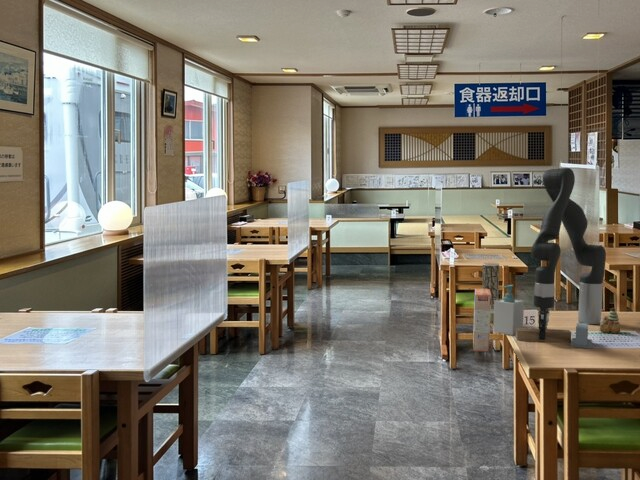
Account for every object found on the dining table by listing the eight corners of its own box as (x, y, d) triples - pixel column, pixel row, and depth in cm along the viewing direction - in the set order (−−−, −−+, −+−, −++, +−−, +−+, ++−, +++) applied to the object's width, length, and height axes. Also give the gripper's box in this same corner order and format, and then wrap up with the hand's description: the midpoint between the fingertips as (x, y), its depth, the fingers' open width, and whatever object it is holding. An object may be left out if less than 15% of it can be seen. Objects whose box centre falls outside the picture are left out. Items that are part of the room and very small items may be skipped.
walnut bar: (515, 338, 276) (515, 328, 276) (568, 340, 274) (568, 329, 273) (516, 341, 272) (517, 330, 272) (570, 342, 270) (571, 332, 270)
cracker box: (490, 352, 254) (491, 294, 251) (472, 351, 255) (474, 294, 253) (489, 343, 267) (490, 288, 265) (473, 342, 268) (474, 287, 266)
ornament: (599, 333, 285) (600, 308, 284) (598, 329, 290) (599, 305, 289) (621, 334, 282) (622, 309, 281) (619, 331, 288) (620, 306, 287)
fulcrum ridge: (572, 340, 272) (572, 322, 271) (591, 342, 269) (592, 323, 269) (570, 346, 263) (571, 327, 262) (591, 348, 260) (591, 329, 259)
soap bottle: (492, 332, 285) (494, 285, 283) (503, 328, 292) (505, 282, 290) (512, 335, 279) (514, 287, 278) (523, 332, 286) (524, 285, 284)
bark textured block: (497, 323, 302) (499, 264, 299) (481, 322, 303) (483, 264, 301) (497, 319, 309) (498, 262, 306) (481, 319, 310) (482, 262, 307)
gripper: (535, 290, 279) (534, 332, 281) (532, 296, 266) (530, 341, 268) (555, 292, 276) (554, 334, 278) (553, 298, 263) (551, 342, 265)
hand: (542, 337), depth 273 cm, fingers open, 5 cm apart
